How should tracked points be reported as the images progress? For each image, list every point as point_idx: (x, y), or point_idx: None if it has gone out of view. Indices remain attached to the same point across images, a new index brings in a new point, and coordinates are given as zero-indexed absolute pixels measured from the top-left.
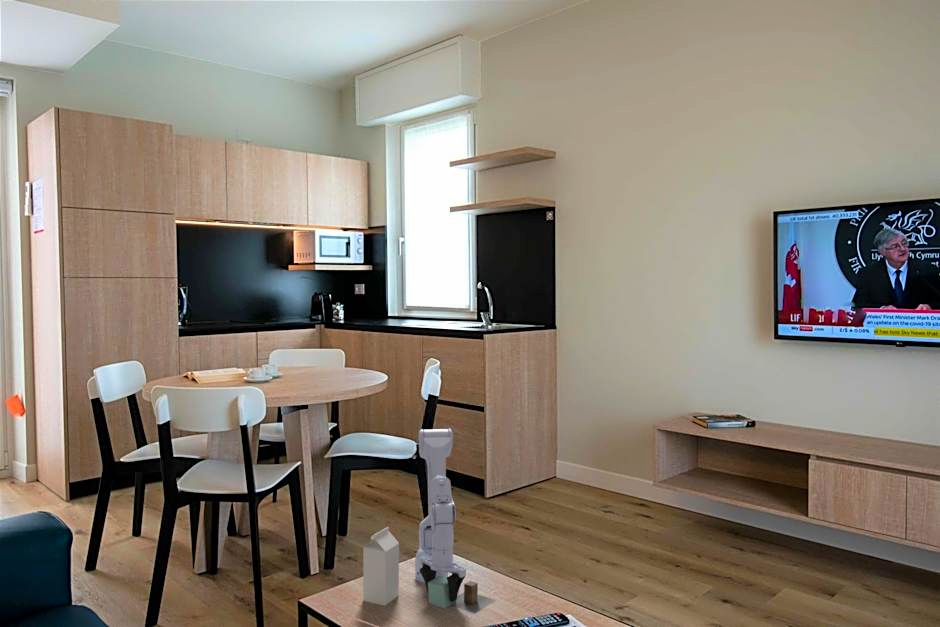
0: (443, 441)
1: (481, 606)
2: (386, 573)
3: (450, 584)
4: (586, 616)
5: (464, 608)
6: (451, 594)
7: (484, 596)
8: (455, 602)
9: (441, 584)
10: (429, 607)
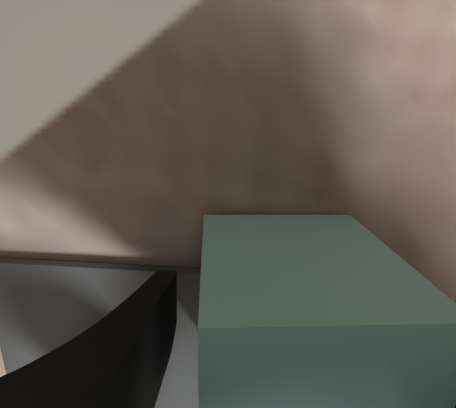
0: None
1: (26, 356)
2: None
3: (66, 377)
4: None
5: (88, 283)
6: (128, 299)
7: None
8: (196, 321)
9: (252, 351)
10: (325, 180)
